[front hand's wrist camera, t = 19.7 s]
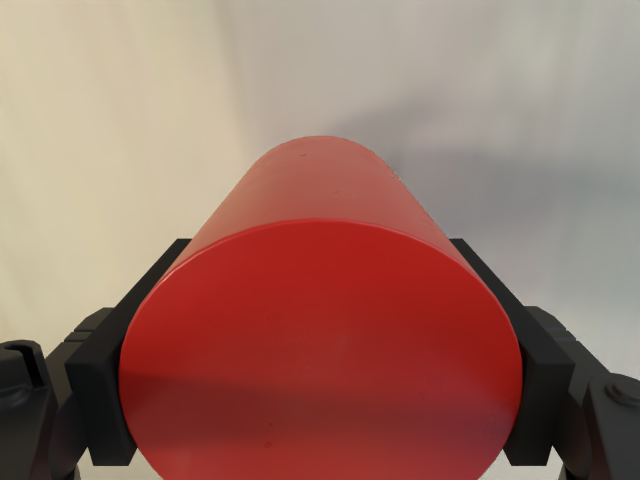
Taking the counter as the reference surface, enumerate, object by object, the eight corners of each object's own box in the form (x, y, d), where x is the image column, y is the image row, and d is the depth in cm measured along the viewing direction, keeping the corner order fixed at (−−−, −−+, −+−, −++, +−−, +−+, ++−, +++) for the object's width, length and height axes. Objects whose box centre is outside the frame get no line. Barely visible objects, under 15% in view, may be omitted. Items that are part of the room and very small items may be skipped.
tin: (195, 198, 18) (26, 354, 8) (352, 97, 17) (409, 122, 6) (294, 329, 21) (268, 579, 10) (438, 252, 19) (581, 457, 9)
